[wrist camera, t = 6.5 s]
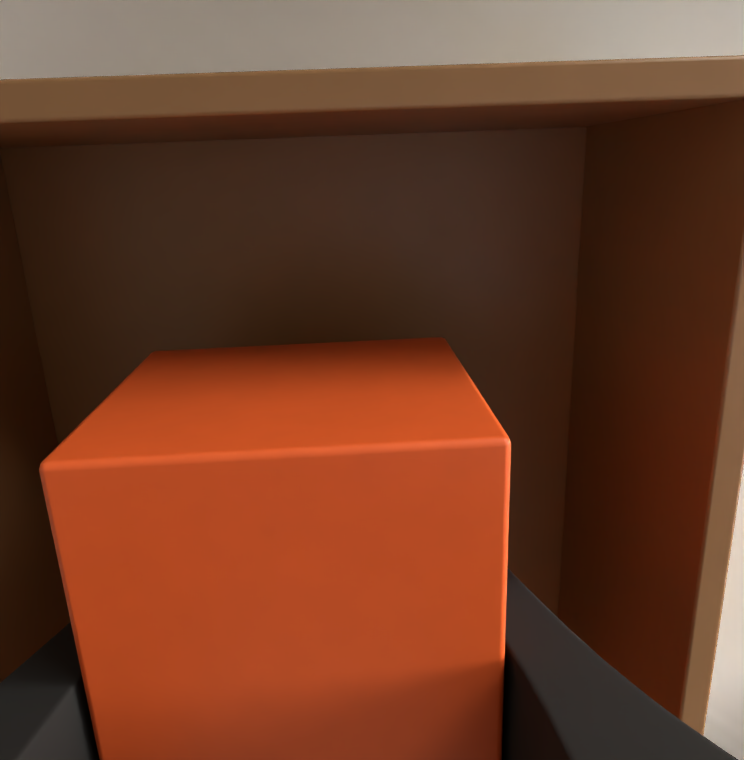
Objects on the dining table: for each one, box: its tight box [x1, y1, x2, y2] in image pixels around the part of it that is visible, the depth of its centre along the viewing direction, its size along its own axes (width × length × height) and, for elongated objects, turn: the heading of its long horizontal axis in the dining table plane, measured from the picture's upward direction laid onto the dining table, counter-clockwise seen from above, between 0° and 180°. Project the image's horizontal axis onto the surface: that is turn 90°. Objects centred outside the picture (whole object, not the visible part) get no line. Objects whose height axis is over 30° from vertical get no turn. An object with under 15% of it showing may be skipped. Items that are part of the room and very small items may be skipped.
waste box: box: [0, 55, 744, 735], centre depth 11 cm, size 15×11×5 cm
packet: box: [39, 337, 511, 760], centre depth 9 cm, size 4×8×4 cm, turn 2°
